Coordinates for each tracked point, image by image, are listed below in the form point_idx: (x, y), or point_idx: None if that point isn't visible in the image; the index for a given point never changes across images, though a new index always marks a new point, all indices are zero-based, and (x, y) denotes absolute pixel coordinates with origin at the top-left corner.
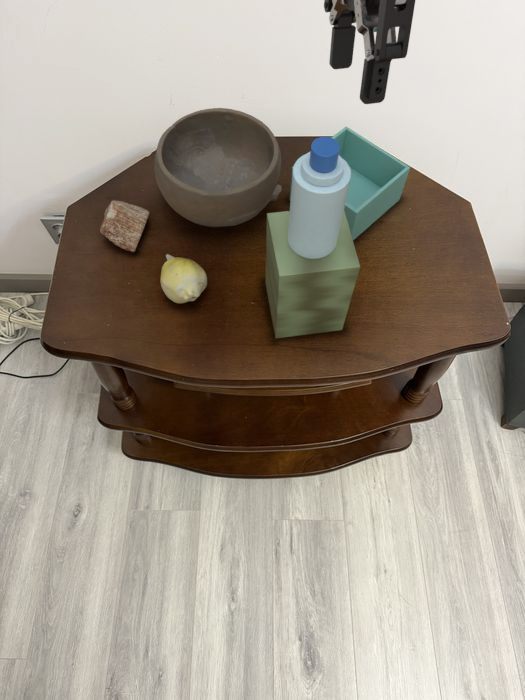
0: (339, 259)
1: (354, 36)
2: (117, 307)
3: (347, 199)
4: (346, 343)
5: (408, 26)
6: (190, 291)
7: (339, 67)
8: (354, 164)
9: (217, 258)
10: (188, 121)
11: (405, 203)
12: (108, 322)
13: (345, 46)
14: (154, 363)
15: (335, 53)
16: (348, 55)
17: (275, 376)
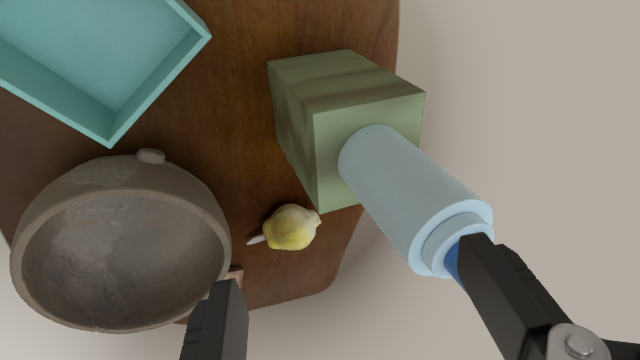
0: (408, 120)
1: (223, 356)
2: (300, 259)
3: (97, 15)
4: (365, 44)
5: None
6: (318, 223)
7: (242, 299)
8: None
9: (241, 194)
10: (65, 313)
11: None
12: (315, 261)
13: (234, 344)
14: (357, 220)
15: (243, 344)
16: (234, 311)
17: None
